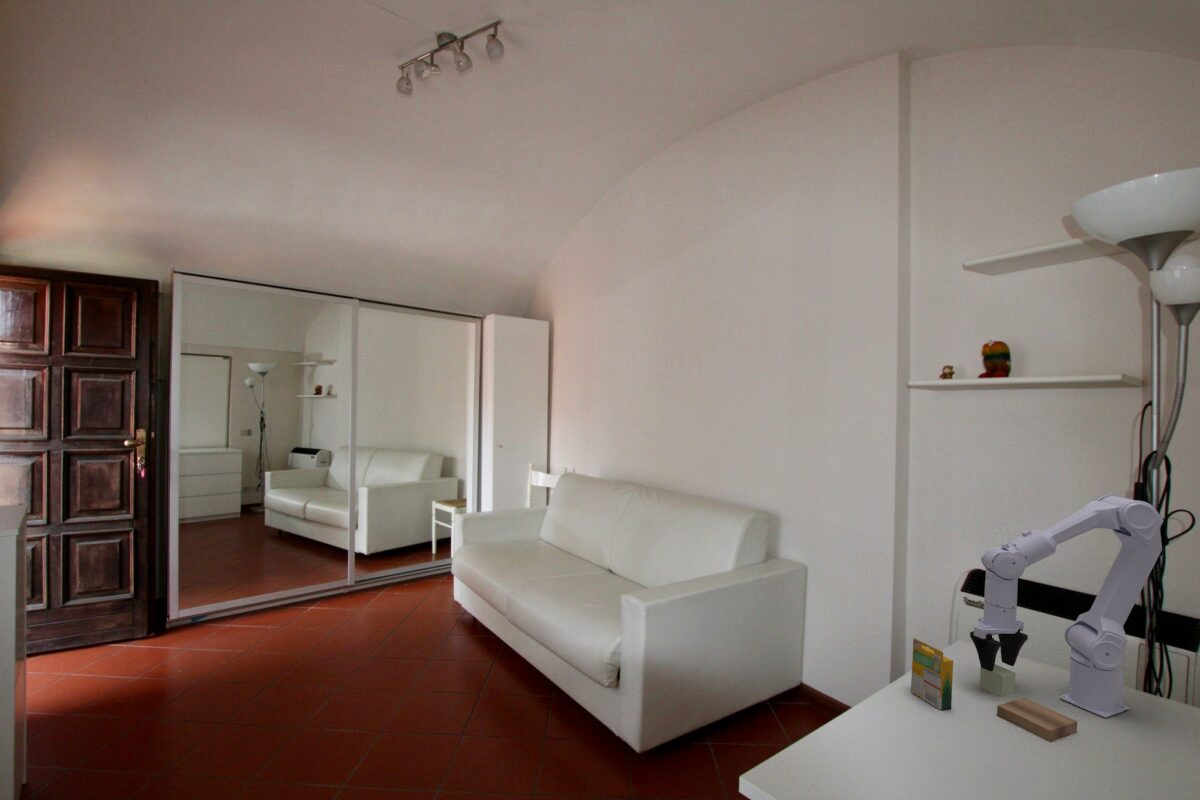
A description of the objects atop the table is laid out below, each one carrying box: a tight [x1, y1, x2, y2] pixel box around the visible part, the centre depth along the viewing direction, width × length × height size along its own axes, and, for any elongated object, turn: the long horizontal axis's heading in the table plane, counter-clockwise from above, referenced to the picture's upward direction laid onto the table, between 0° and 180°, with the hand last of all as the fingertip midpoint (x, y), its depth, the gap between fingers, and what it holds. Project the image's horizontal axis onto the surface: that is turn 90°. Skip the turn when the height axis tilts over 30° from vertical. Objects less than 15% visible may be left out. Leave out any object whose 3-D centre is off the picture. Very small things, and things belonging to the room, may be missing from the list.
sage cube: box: [979, 663, 1016, 698], centre depth 119 cm, size 4×4×4 cm
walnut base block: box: [996, 697, 1078, 743], centre depth 106 cm, size 9×9×2 cm
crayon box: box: [910, 637, 954, 711], centre depth 113 cm, size 7×3×12 cm, turn 17°
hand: (997, 666), depth 119 cm, fingers open, 7 cm apart
